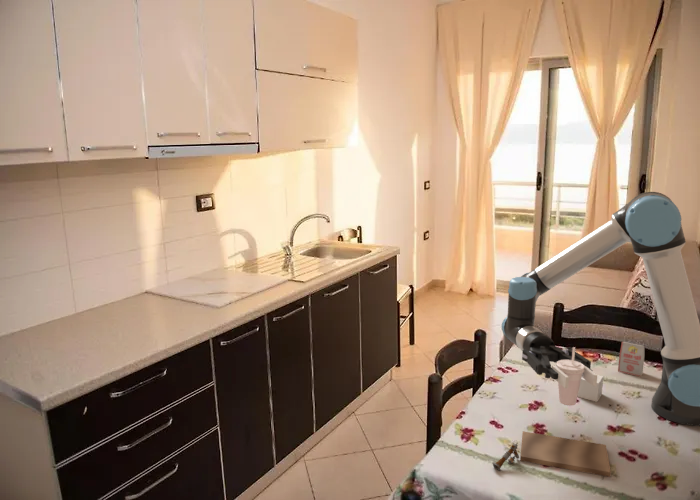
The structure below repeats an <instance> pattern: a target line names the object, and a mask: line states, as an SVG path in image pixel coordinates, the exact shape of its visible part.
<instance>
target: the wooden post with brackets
mask: <svg viewBox="0 0 700 500" xmlns="http://www.w3.org/2000/svg"><path fill="white" fill-rule="evenodd" d="M518 446H519V445H518V443H513V444H512V445H511V446H510V448H509V449H508V450H507V451H505V453H504V454H503V455H502V456H501V458H500V459H499V460H497V461H496V462H495V461H494V462H492V466H493V468H495V469H497V470H498V471H500V472H501V471H502V470H501V468H502V466H503V465H504V463H505V462H507V464H508V465H511V464H513V463H514V462H516V461H515V459H519V458H520V456H519V455H520V454H519V453H518ZM512 454H513V455H514V456H512Z"/></svg>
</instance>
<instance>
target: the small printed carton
mask: <svg viewBox="0 0 700 500" xmlns="http://www.w3.org/2000/svg"><path fill="white" fill-rule="evenodd" d="M645 348H646V347H645V345H643V344H636V343H632V342H631V343H630V342H627V341H621V345H620V349H619V350H620V351H619V357H618V367H617V372H619V373H624V374H629V375H631V374H632V375H631V376H635V375H636V376H635V377H641V376H642V375H643V371H644V364H645Z"/></svg>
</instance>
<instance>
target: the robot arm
mask: <svg viewBox="0 0 700 500" xmlns="http://www.w3.org/2000/svg"><path fill="white" fill-rule="evenodd" d="M627 243H631V246H632V250H633V253H634V254H635V255H637V256H639V257H640V258H642V262H643V265H644V269H645V272H646V276H647V280H648V284H649V288H650V293H651V295H652V300H653V303H654V306H655V310H656V314H657V317H658V321H659V325H660V329H661V333H662V336H663V341H664V346H663V348H662V349H661V350H660V355H661V358H662V372H661V378H660V379H661V380H660V383H659V385H658V386H657V389H656V390H655V392H654V394H653V395H652V397H651V405H650V406H651V409H652V411H653V412H655V413H656V414H657V415H658V416H660V417H662V418H664V419H666V420H669V421H671V422H674V423H678V424H682V425H687V426H700V319H699V316H698V312H697V308H696V304H695V300H694V296H693V291H692V289H691V285H690V281H689V277H688V273H687V270H686V266H685V261H684V259H683V254H682V250H683V248H684V246H685V245H686V243H687V241H686V238H685V233H684V230H683V226H682V215H681V212H680V210H679V207H678V206H677V205H676V204H675V203H674V201H672V199H671V198H670V197H668V195H666V194H664V193H661V192H657V191H646V192H643V193H639V194H638V195H636V196H635V197H633V198H632V199H631V200H630V201H629V202H627V203H626V204H625V205H624V206H622V207H621V208H620V209H618V210H617V211H615V212H613V214H611V217H610V220H608V221H606V222H605V223H603V224H602V225H601V226H599V227H598V228H596V229H594V230H593V231H591V232H590V233H588V234H587V235H585V236H583V237H582V238H580V239H578V241H575V242H574V243H573V244H571V245H569V246H568V247H566V248H564V250H562V251H561V252H559V253H557V254H556V255H554V256H553V257H550V258H549V259H548V260H546V261H544V262H543V263H542V264H540V265H538V266H537V267H535V269H532V270H531V271H529V272H526V273H524V274H522V275H521V276H515V277H513V278H511V279H510V280H509V285H508V290H507V293H508V301H507V303H508V304H507V315H506V317H504V319H502V322H501V327H500V328H501V331H502V333H503V335H504V336H505V337H506V338H507V340H508V341H509V342H511V343H512V344H514V345H515V346H516V347H517V348H518V349H519V350H520V351H522V354H521V360H522V361H524V362H526V363H527V365H528V366H529V367H530V368H531V369H532V370H533V371H534V372H535V374H537V375H539V376H542V375H543V374H544V377H545V379H552V380H555V381H556V382H557V383H558V382H559V383H560V384H561V385H562V386H563V387H564V388H568V382H569V377H568V376H567V375H566V374H565V373H563V372H562V371H561V370H560V369H559V368H557V367H556V365H552V364H551V362H553V363H555V364H556V363H557V361H559V360H572V351H573V347H571V346H569V347H566V349H562V348H561V347H559V346H556V344H555V342H554V341H553V339H552V338H551V337H549V336H548V335H547V334H545V333H544V332H543V331H542V330H540V328H537V327H536V326H535V318H536V304H537V301H538V299H539V297H540V296H542V295H544V294H545V293H547V292H548V291H549V290H551V289H554V288H555V287H556V286H558V285H560V284H561V283H563V282H564V281H566V280H568V279H569V278H571V277H572V276H574V275H576V274H577V273H579V272H581V271H582V270H584V269H586V268H587V267H589V266H590V265H592V264H594V263H595V262H597V261H599V260H600V259H602V258H604V257H605V256H607V255H608V254H610V253H612V252H613V251H615V250H617V249H619V248H620V247H622V246H623V245H625V244H627ZM574 361H577V362H580V363H582V364H583V365H584V367H585V368H584V372H583V373H582V377H583V378H584V379H585V380H586V381H588V382H589V383H590V384H591V385H593V386H597V375H598V374H597V373H595V372H594V370H592V369H591V365H592V361H591V360H589V359H588V358H586V357H584V356H583V355H581V354H579V353H578V352H576V351H575V357H574Z"/></svg>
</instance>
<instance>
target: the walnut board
mask: <svg viewBox="0 0 700 500" xmlns="http://www.w3.org/2000/svg"><path fill="white" fill-rule="evenodd" d="M519 455H520V456H519V458H520V459H519V461H521V462H526V463H532V464H537V465H542V466H548V467H553V468H559V469H566V470H570V471H575V472H583V473H585V474H586V473H587V474H592V475H599V476H603V477H609V478H611V475H612V473H611V467H610V466H611V465H610V460H609V455H608V449H607V444H602V443H597V442H590V441H586V440H585V441H584V440H578V439H573V438H566V437H561V436H553V435H548V434H541V433H537V432H529V431H522V434H521V444H520V454H519Z"/></svg>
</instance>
